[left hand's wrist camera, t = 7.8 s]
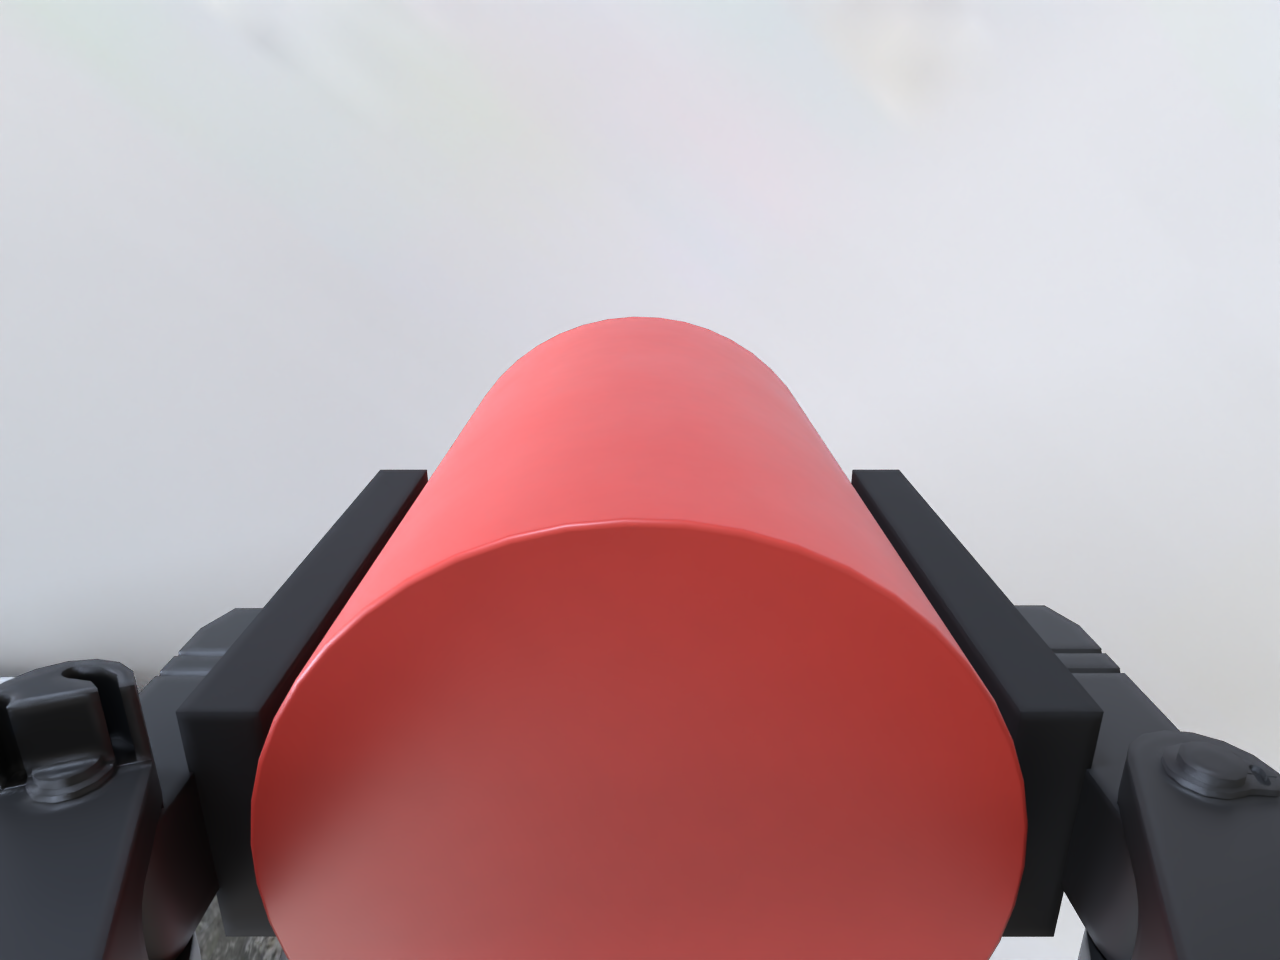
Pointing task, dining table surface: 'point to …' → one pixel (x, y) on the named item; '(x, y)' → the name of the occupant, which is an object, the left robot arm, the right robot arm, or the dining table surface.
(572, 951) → the can
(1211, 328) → the dining table surface
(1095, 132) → the dining table surface
